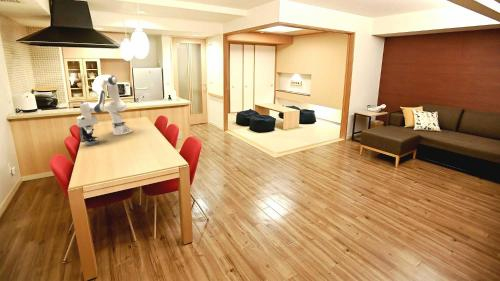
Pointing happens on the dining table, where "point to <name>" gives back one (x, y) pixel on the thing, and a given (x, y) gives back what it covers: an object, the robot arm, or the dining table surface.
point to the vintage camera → (85, 134)
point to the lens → (89, 129)
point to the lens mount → (91, 142)
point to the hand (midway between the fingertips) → (89, 129)
